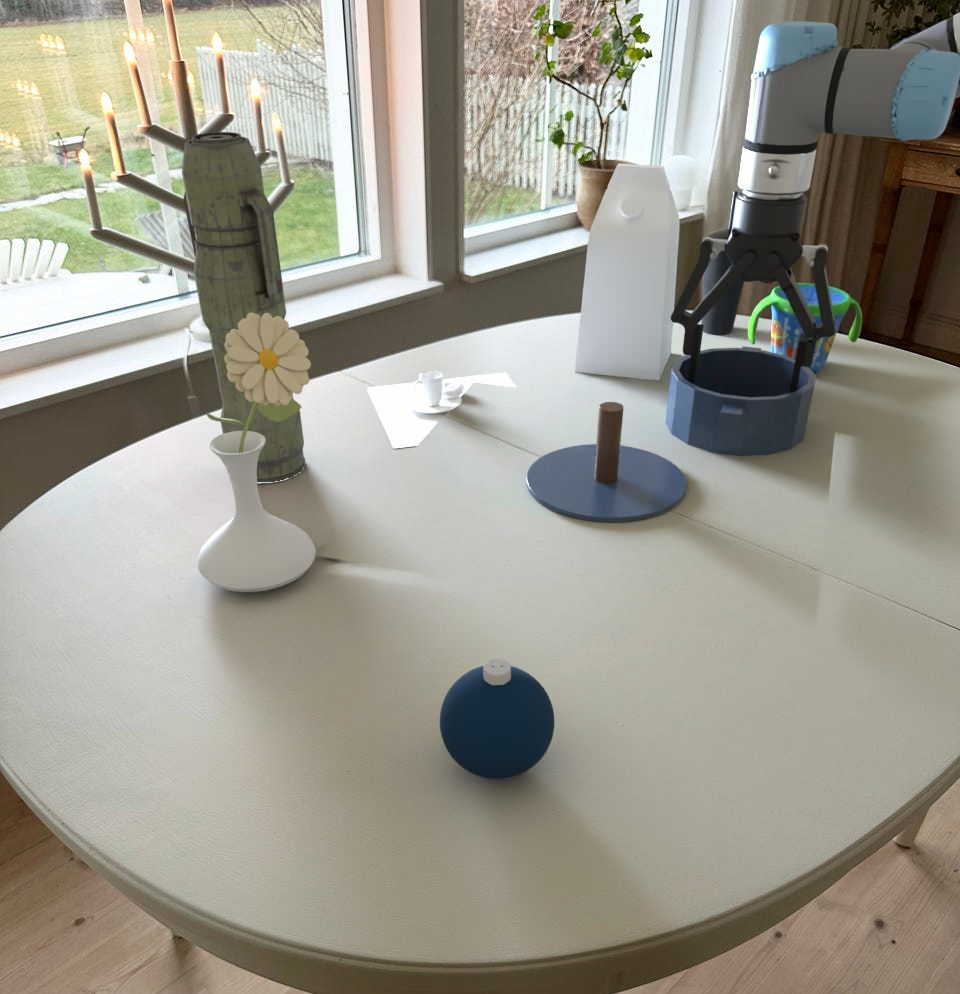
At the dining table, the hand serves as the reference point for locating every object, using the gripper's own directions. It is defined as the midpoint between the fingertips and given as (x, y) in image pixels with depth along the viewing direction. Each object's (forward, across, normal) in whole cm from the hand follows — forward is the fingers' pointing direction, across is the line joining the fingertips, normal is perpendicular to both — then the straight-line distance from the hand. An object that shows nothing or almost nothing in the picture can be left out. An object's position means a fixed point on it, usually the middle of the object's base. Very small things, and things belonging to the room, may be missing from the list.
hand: (741, 386), depth 116 cm
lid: (+5, -12, -20) cm, 24 cm away
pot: (+6, 0, 0) cm, 6 cm away
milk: (+6, -18, +19) cm, 27 cm away
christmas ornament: (+6, -10, -66) cm, 67 cm away
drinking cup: (+6, -7, +37) cm, 38 cm away
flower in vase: (+6, -40, -47) cm, 62 cm away
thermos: (+6, -51, -27) cm, 58 cm away
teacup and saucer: (+6, -36, -4) cm, 37 cm away
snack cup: (+6, +6, +25) cm, 26 cm away
